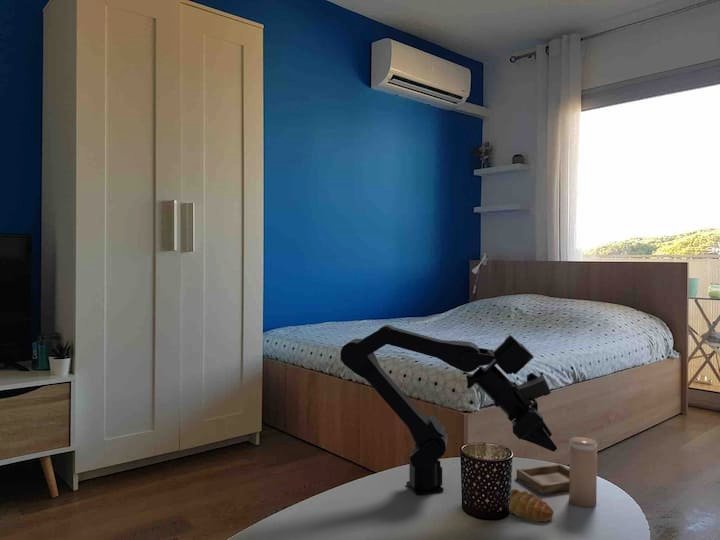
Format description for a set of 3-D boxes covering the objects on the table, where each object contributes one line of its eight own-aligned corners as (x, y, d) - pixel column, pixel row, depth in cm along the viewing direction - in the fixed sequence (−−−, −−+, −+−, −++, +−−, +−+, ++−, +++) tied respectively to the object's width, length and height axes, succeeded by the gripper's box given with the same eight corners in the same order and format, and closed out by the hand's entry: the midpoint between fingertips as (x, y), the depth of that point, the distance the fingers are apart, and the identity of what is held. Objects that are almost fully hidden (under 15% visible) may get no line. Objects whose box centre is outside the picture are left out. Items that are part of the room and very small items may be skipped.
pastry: (559, 516, 113) (559, 497, 113) (543, 528, 108) (543, 508, 108) (517, 501, 120) (517, 484, 120) (500, 512, 115) (500, 494, 115)
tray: (542, 494, 123) (542, 485, 123) (516, 477, 132) (516, 469, 132) (588, 488, 126) (588, 479, 126) (559, 471, 136) (560, 463, 136)
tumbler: (580, 509, 116) (581, 446, 115) (563, 498, 121) (563, 438, 121) (602, 505, 117) (603, 443, 117) (584, 495, 123) (585, 435, 122)
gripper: (530, 372, 112) (589, 431, 110) (524, 356, 130) (574, 406, 128) (489, 409, 114) (547, 468, 112) (489, 388, 132) (538, 438, 130)
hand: (552, 442), depth 120 cm, fingers open, 9 cm apart
